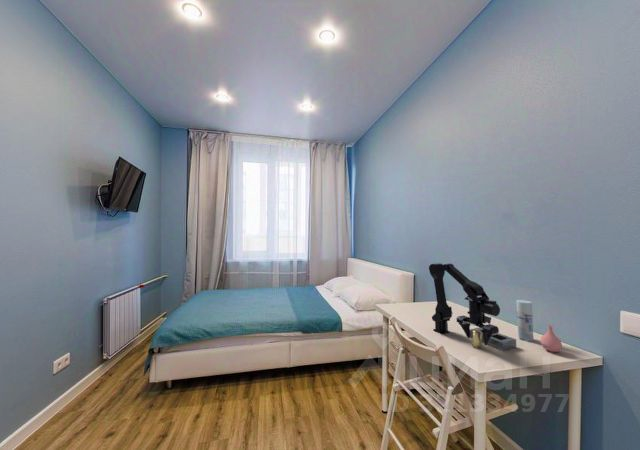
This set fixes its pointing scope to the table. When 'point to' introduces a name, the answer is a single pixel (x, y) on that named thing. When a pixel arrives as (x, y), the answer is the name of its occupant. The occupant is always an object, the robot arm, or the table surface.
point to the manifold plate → (498, 340)
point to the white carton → (525, 320)
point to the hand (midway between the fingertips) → (477, 341)
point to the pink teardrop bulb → (551, 341)
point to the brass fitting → (477, 339)
